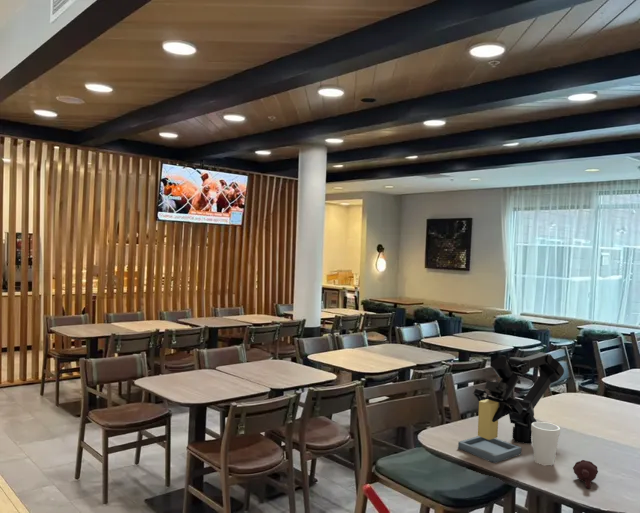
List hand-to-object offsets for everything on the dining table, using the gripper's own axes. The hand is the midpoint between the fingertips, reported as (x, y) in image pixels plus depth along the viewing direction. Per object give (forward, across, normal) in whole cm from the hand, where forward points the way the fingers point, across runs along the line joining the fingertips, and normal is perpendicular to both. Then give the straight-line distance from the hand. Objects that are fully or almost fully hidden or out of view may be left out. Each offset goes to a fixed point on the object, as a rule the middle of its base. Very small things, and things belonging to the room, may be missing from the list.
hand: (486, 419), depth 198 cm
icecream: (+3, +33, +15) cm, 36 cm away
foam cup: (+1, +17, +17) cm, 24 cm away
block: (+4, 0, +5) cm, 7 cm away
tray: (+7, 0, +10) cm, 13 cm away
